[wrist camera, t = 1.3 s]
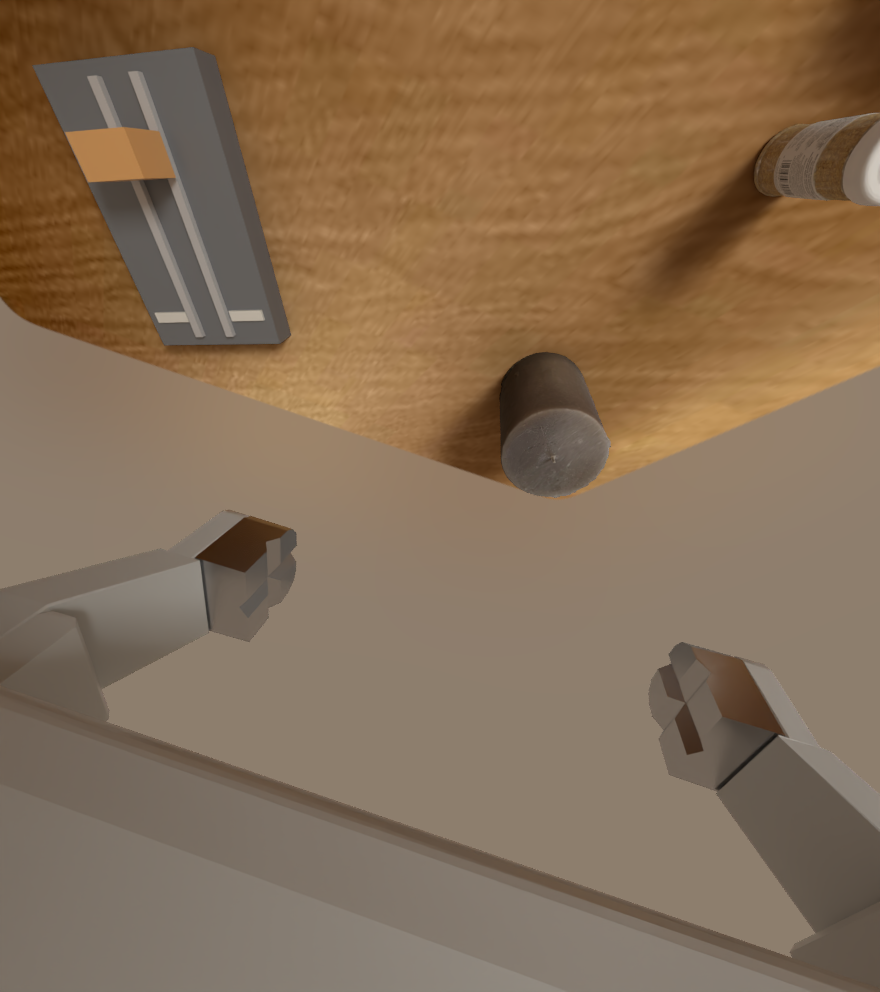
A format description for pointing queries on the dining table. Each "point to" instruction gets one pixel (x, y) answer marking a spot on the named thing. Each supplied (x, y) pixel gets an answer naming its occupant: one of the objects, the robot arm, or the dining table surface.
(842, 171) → the sprinkles bottle
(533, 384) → the pillar candle
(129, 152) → the fader tab
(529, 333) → the dining table surface
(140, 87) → the fader console
